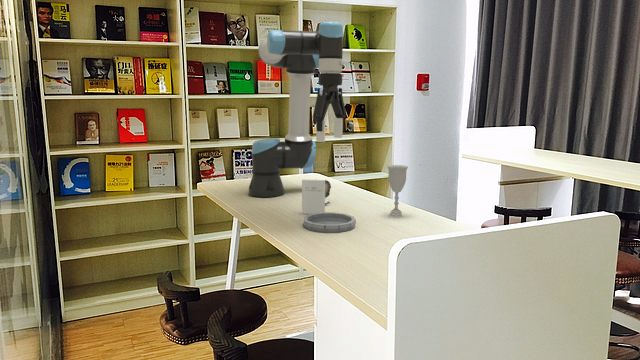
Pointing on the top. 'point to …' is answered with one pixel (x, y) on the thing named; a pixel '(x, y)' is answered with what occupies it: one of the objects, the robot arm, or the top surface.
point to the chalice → (396, 185)
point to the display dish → (329, 222)
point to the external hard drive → (313, 196)
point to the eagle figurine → (327, 190)
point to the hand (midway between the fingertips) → (329, 139)
